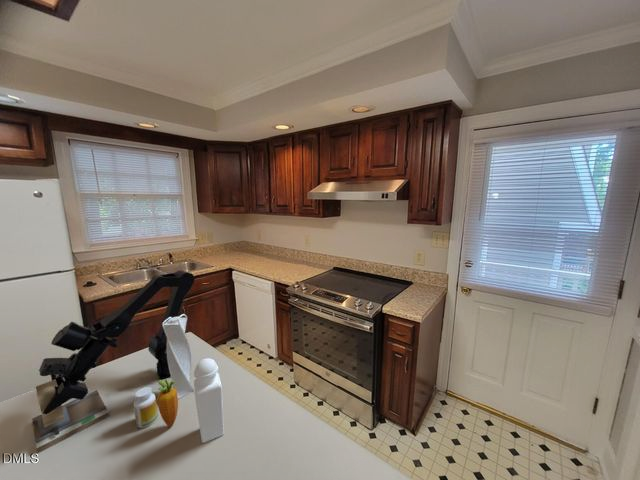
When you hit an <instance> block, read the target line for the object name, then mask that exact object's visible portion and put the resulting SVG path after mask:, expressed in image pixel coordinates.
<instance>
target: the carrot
mask: <svg viewBox="0 0 640 480" xmlns="http://www.w3.org/2000/svg"><path fill="white" fill-rule="evenodd" d="M173 383H174V380H172V379H171V381H169V379H168V378H165V379H164V381H163V379H162V380H159V381H158V382H157V384H158V385H160V386H161V387H159V388H158V390H159V391H160V392H159V393H158V395H157V397H156V403H157V408H158V410H159V414H160V416H161V419H162V420H163V422H164V423H165V425H166V426H167V427H170V428H172V427H173V425H174V424H175V421H176V419H177V415H178V410H179V399H178V397H177V391H176V390H175V389H174V388H173Z"/></svg>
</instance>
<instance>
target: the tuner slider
mask: <svg viewBox="0 0 640 480" xmlns="http://www.w3.org/2000/svg"><path fill="white" fill-rule="evenodd" d="M54 386H56V387H58V385H57V382H56V379H55V380H52V379H51V380H50V381H48V382H44V383H41V384H40V385H36V386H35V391H36V395H37V399H38V404H39V405H38V406H39V408H40V415H42V417H40V418H38V419H37V420H38V426H39V432H40V437H42V436H44V435H46V434H48V433H50V432H52V431H54V432H55V436H56V435H58V434H59V430H58V428H61V427H63V426H65V425H67V424H69V423H71V422H70V418H69V415H68V412H67V409H66V406H65V407H62V405H63V404H62V405H60V406H59V407H57V408H56V409H54V410H53V411H51V412H50V413H48V414H43V412H44V410H45V408H46V407H47V405H48V404H49V402H50V401H51V399H52V397H53V396H54V394H55V389H54Z"/></svg>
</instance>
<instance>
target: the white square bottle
mask: <svg viewBox="0 0 640 480" xmlns="http://www.w3.org/2000/svg"><path fill="white" fill-rule="evenodd" d="M194 369H195V370H194V372H193V376H194V378H195V379H194V380H193V385H194V386H193V389H194V397H195V404H196V410H197V417H198V425H199V426H198V427H199V431H200V439H201V443H202V444H204V443H207V442H209V441H212V440H214V439H216V438H219V437H221V436H224V435H225V429H224V428H225V425H224V408H223V406H224V405H223V404H224V403H223V388H222V383H221V376H220V373H219V372H218V371H219V366H218V364H217V362H216V361H215V360H214V359H213V358H209V357H207V358H203V359H201V360H199V361H198V363H197V364H196V366H195V368H194Z"/></svg>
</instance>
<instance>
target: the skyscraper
mask: <svg viewBox="0 0 640 480" xmlns="http://www.w3.org/2000/svg"><path fill="white" fill-rule="evenodd" d="M183 316H185V317H183ZM168 319H169V320H168ZM168 319H166V320H165V321H164V322H163V323H162V322H161V324H162V326H163V328H164V331H165V334H166V337H167V361H168V367H169V371H170V375H171V377H170V379H171V381H172V380H174V383H173V385H172V388H174V389H175V390H176V391H177V397H178V400H179V399H181V398H182V397H185V396H187V395H188V394H190V393H193V392H195V388H194V386H192V385H191V381H190V376H191V370H192V351H191V346H190V345H191V344H190V342H189V339H188V336H187V335H186V328H187V321H188V316H187V315H186V313H183V314H181V315H180V314H179V316H178V317H173V318H171V317H169V318H168ZM167 320H168V321H167ZM166 321H167V322H166ZM165 322H166V323H165ZM164 323H165V324H164Z"/></svg>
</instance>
